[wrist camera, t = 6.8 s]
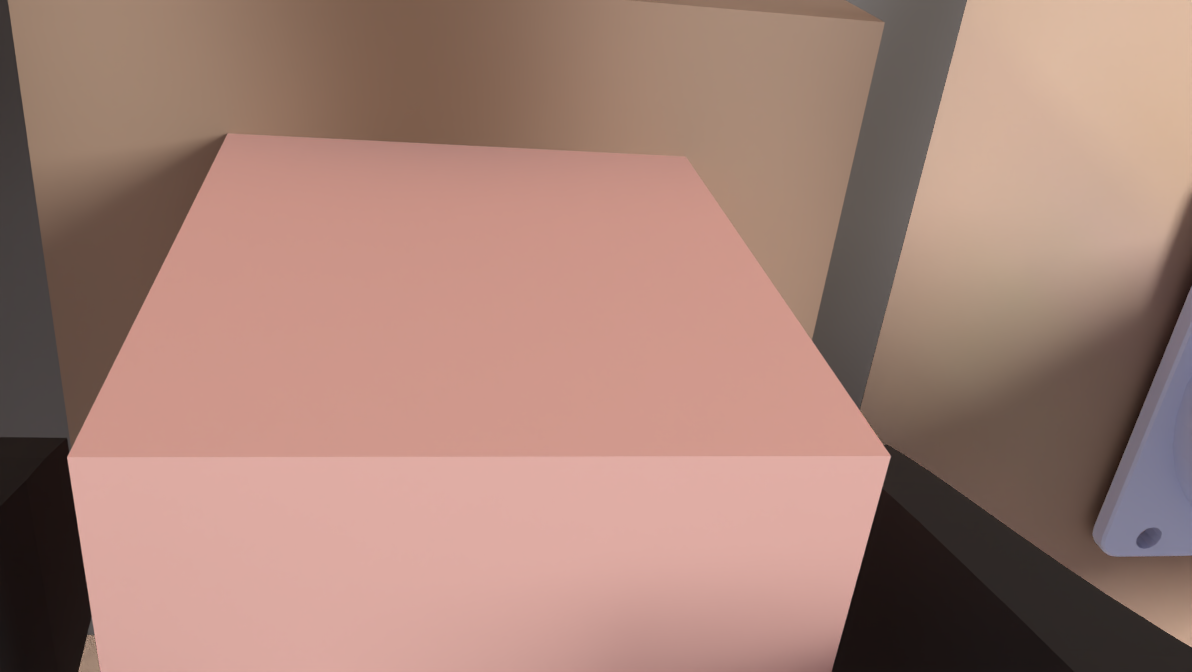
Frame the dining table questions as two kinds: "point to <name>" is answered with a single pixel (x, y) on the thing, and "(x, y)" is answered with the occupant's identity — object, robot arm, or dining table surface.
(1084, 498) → the dining table surface
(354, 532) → the coral block
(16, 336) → the base
